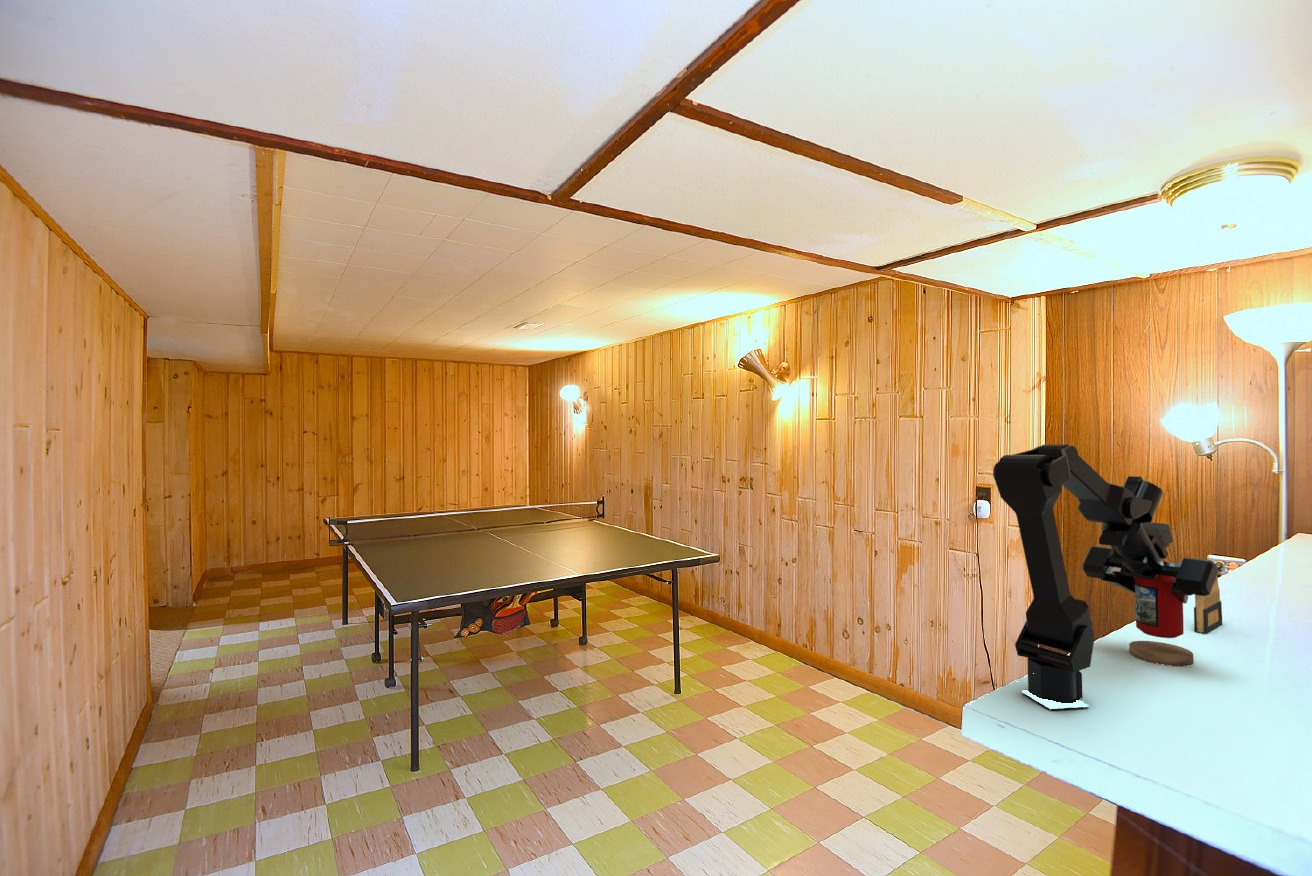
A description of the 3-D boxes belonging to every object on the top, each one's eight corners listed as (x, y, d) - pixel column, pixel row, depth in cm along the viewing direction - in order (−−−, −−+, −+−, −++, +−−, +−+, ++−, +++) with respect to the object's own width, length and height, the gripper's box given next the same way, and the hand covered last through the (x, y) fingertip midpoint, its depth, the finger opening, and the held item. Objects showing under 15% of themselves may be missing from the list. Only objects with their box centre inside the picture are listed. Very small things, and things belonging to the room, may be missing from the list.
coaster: (1185, 670, 103) (1184, 661, 103) (1122, 655, 111) (1121, 647, 111) (1200, 658, 108) (1199, 650, 108) (1138, 645, 116) (1138, 637, 116)
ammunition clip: (1206, 634, 121) (1204, 575, 121) (1194, 632, 122) (1192, 574, 123) (1222, 624, 127) (1220, 568, 127) (1211, 622, 128) (1209, 567, 128)
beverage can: (1130, 627, 114) (1128, 564, 114) (1175, 630, 111) (1173, 566, 111) (1143, 637, 108) (1141, 571, 108) (1190, 641, 105) (1188, 573, 105)
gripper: (1212, 513, 100) (1241, 572, 105) (1088, 504, 116) (1118, 555, 121) (1191, 565, 96) (1223, 623, 101) (1066, 548, 112) (1099, 599, 117)
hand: (1161, 597), depth 110 cm, fingers closed on beverage can, 7 cm apart
